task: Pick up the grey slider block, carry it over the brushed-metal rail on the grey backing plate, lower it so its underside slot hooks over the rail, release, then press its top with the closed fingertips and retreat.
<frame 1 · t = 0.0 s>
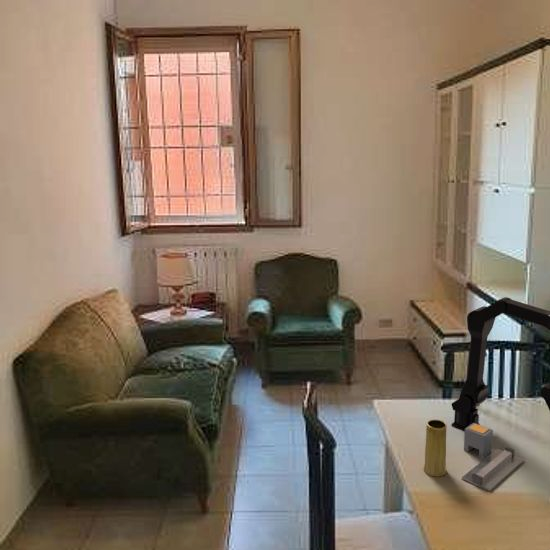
grey slider block: (477, 450, 166), on the table
vase: (434, 471, 157), on the table
rail: (493, 469, 156), on the table
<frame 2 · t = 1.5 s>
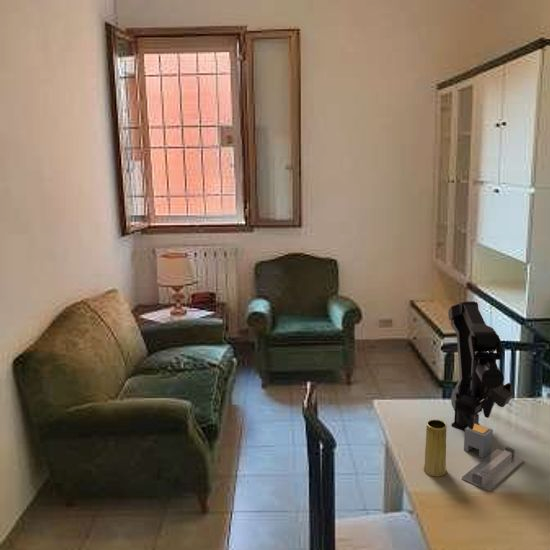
hand: (479, 422, 164), 9 cm above the table, fingers open, 9 cm apart
nothing on the table moved.
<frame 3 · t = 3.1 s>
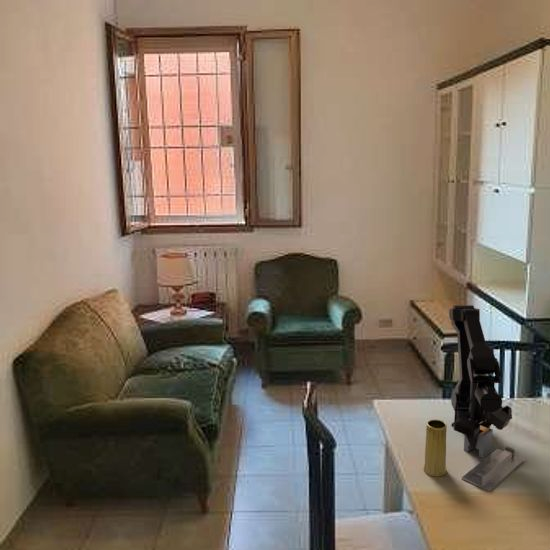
hand: (477, 444, 165), 2 cm above the table, fingers closed on grey slider block, 5 cm apart
grey slider block: (477, 450, 166), on the table, touching gripper
everything else where it was.
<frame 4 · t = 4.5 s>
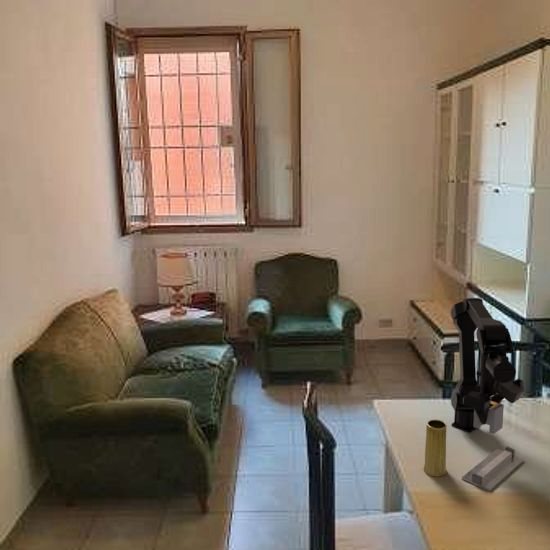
hand: (488, 420, 158), 13 cm above the table, fingers closed on grey slider block, 5 cm apart
grey slider block: (487, 427, 158), point 11 cm above the table, touching gripper
everything else where it was.
when the fingers open (3 cm above the table, at t = 6.3 s): grey slider block stays where it is, resting on rail.
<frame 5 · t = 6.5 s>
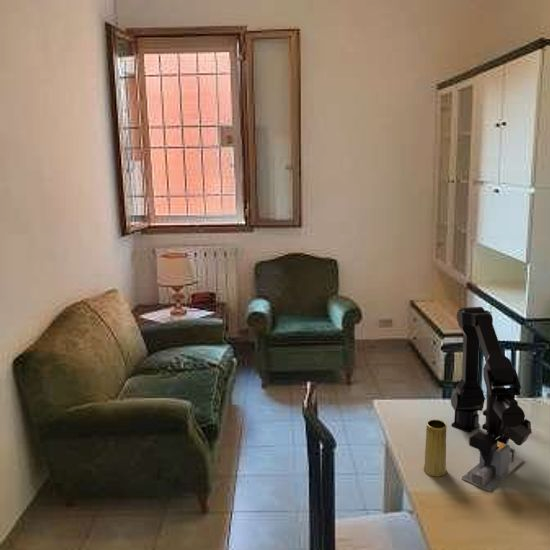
hand: (494, 460, 155), 3 cm above the table, fingers open, 7 cm apart
grey slider block: (493, 467, 156), point 1 cm above the table, touching rail
everything else where it was.
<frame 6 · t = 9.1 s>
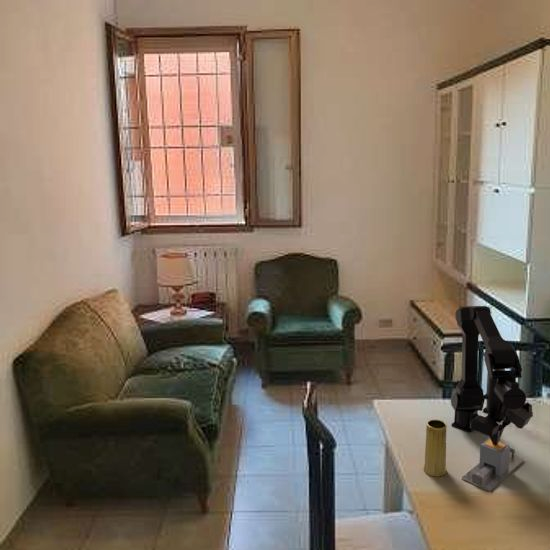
hand: (495, 444, 154), 8 cm above the table, fingers closed, pressing on grey slider block
grey slider block: (493, 467, 156), point 1 cm above the table, touching gripper, rail
everything else where it was.
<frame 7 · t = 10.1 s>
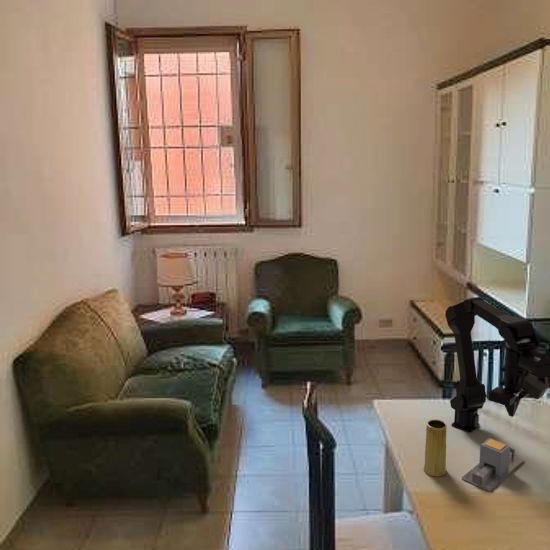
hand: (511, 416, 159), 13 cm above the table, fingers closed
grey slider block: (493, 467, 156), point 1 cm above the table, touching rail
everything else where it was.
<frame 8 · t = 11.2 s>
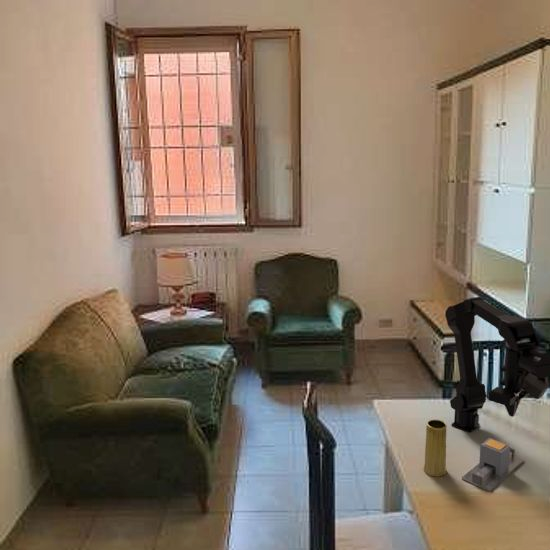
hand: (511, 415, 159), 13 cm above the table, fingers closed
nothing on the table moved.
at the end: grey slider block inside the target area on the rail (0.0 cm from its centre), point 0.6 cm above the rail's base; grey slider block tilted 0°; the gripper is holding nothing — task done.
